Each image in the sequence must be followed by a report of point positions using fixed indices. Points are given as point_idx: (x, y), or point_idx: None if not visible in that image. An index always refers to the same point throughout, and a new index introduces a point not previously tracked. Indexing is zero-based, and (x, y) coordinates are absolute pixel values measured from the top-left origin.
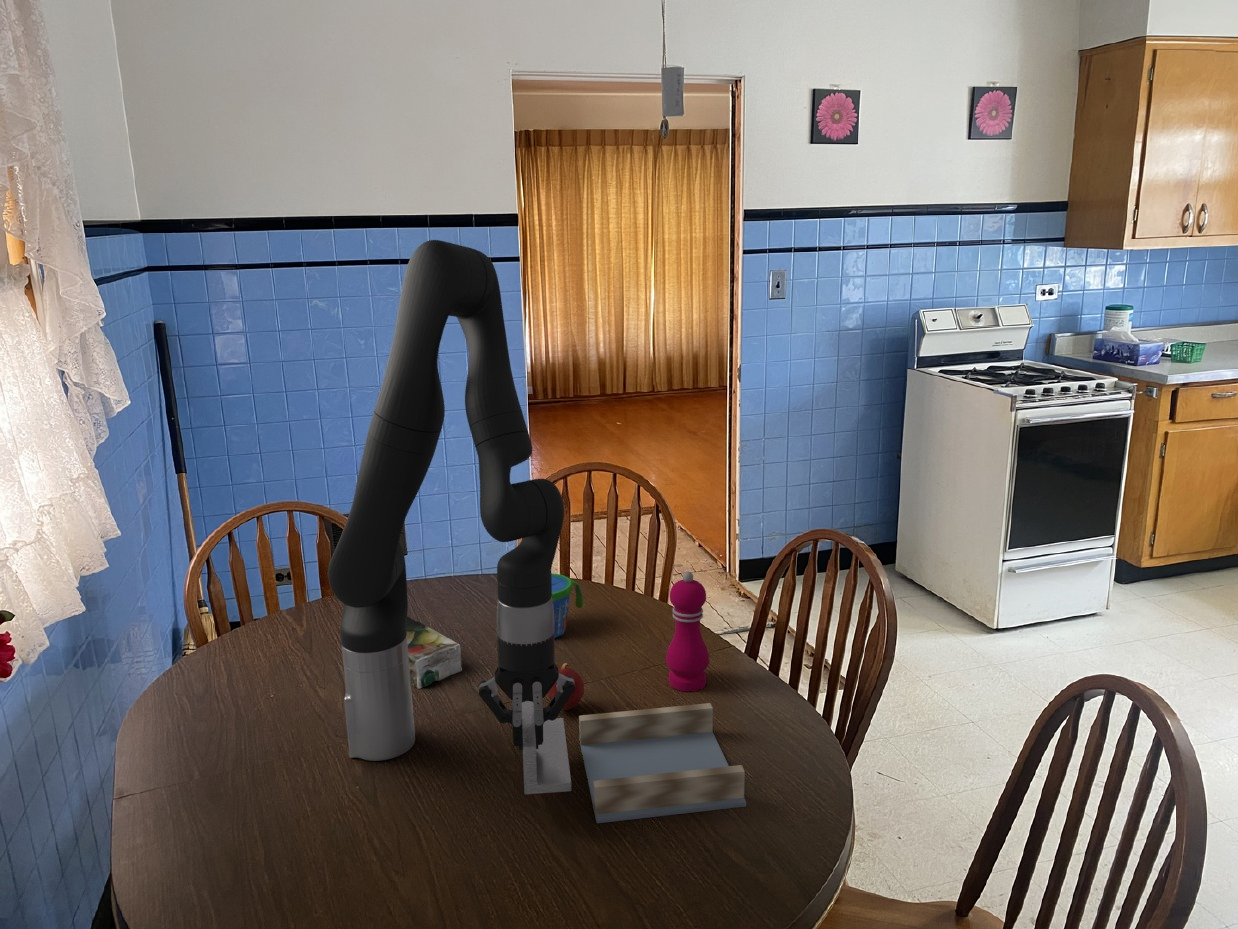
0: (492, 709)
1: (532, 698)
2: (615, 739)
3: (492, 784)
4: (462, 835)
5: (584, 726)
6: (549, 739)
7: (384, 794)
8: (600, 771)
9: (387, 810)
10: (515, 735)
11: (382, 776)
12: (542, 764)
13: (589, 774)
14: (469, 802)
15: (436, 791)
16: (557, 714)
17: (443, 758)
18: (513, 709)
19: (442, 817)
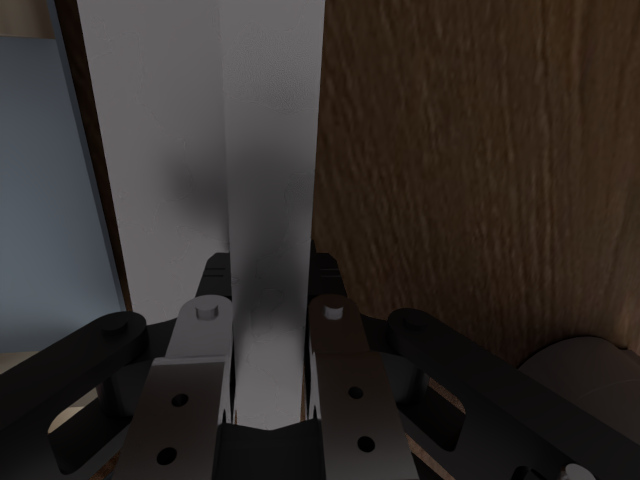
0: (508, 374)
1: (225, 451)
2: (23, 356)
3: (367, 228)
4: (477, 10)
5: (94, 389)
6: None
7: (606, 228)
8: (56, 229)
9: (619, 167)
10: (330, 278)
11: (591, 289)
12: (219, 160)
13: (91, 220)
14: (433, 163)
15: (499, 221)
16: (72, 339)
17: (460, 333)
18: (377, 362)
19: (509, 111)
